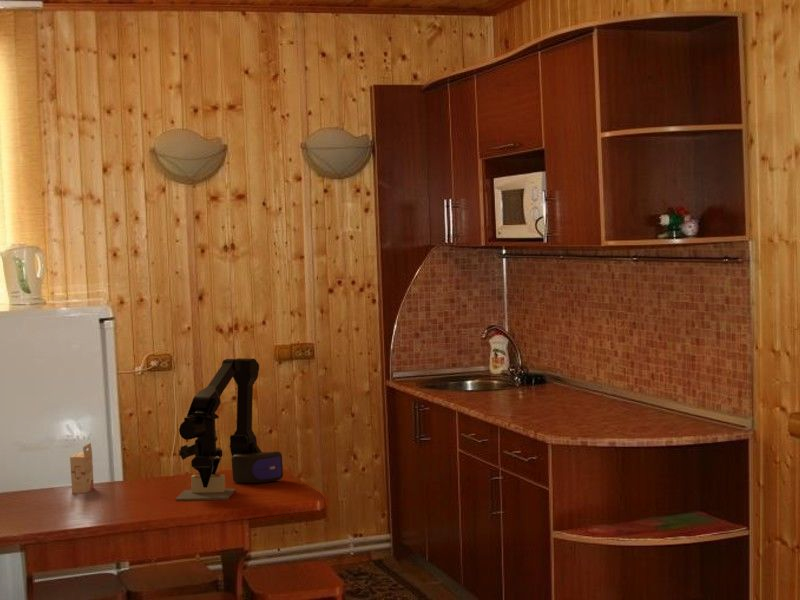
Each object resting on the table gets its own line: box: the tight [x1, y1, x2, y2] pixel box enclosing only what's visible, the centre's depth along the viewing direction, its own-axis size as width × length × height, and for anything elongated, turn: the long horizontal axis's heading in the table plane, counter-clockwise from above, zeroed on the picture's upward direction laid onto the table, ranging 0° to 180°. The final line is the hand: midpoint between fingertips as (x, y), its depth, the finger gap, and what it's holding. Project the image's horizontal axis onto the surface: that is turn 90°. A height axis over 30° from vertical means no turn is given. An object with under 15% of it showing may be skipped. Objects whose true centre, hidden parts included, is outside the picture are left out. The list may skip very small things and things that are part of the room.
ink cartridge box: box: [69, 442, 95, 494], centre depth 378 cm, size 9×5×15 cm, turn 179°
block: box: [190, 473, 226, 493], centre depth 369 cm, size 3×10×5 cm, turn 88°
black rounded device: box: [231, 450, 284, 484], centre depth 383 cm, size 16×5×9 cm, turn 96°
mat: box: [175, 488, 236, 502], centre depth 366 cm, size 13×16×1 cm
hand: (208, 484), depth 369 cm, fingers open, 8 cm apart
